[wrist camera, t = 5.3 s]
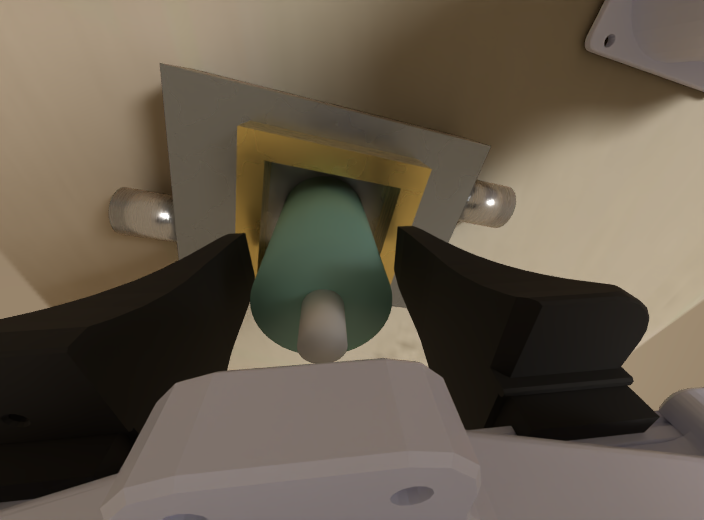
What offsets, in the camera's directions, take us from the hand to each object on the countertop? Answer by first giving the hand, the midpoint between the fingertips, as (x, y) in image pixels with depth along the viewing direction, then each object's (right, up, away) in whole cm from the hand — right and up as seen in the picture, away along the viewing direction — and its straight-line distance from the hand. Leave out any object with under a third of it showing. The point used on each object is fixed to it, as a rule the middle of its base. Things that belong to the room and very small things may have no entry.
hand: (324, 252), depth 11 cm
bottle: (0, +2, +3) cm, 3 cm away
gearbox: (-1, +3, +5) cm, 6 cm away
